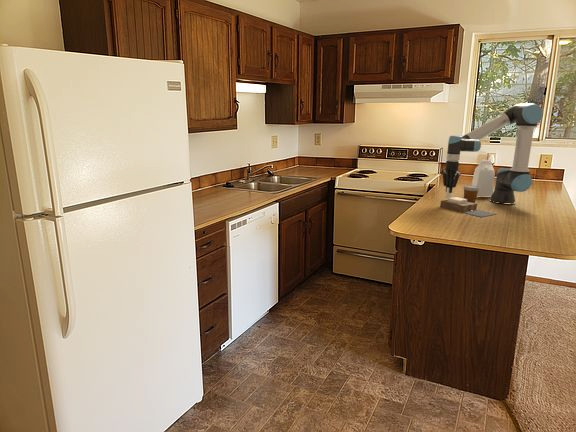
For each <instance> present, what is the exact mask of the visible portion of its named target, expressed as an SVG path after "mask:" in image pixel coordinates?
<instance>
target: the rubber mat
mask: <svg viewBox="0 0 576 432" xmlns="http://www.w3.org/2000/svg"><path fill="white" fill-rule="evenodd" d="M462 214H466V215H470V216H475V217H479V218H484V217H490V215H491V216H495V214H496V213H494V212H490V211H486V210H482V209H476V210H473V211H467V212H462Z"/></svg>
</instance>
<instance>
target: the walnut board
mask: <svg viewBox="0 0 576 432" xmlns="http://www.w3.org/2000/svg"><path fill="white" fill-rule="evenodd" d="M439 205H440V206H439V207H440V208H442V209H448V210H451V211H455V212H459V213H463V212H467V211H471V210H477V208H478V207H477V206H478V203H476V202H475V203H472V202H467V203H461V204H458V203H453V202H449V201H448V199H444V200H440V204H439Z"/></svg>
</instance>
